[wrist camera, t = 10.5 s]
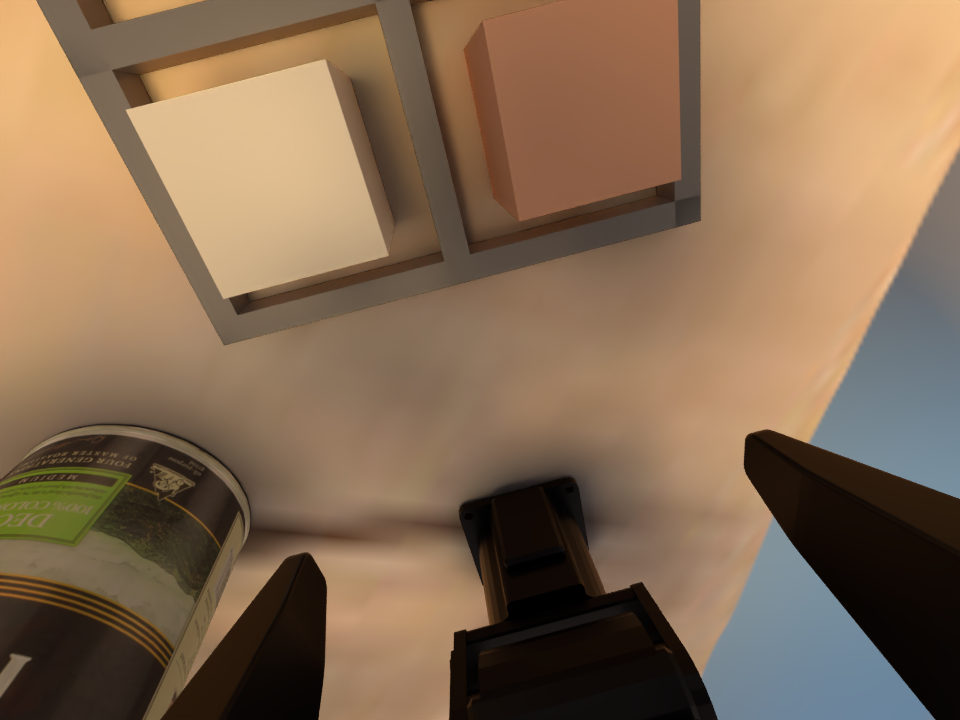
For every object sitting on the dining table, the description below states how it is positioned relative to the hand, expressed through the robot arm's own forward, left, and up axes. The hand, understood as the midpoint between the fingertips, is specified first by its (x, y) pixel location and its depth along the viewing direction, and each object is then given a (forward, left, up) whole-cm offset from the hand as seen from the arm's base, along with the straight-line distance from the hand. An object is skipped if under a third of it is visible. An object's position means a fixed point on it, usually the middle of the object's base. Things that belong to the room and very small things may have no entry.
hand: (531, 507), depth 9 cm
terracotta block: (+6, -4, -12) cm, 14 cm away
